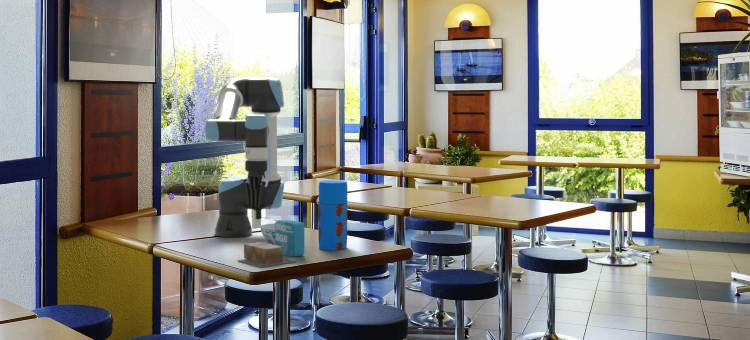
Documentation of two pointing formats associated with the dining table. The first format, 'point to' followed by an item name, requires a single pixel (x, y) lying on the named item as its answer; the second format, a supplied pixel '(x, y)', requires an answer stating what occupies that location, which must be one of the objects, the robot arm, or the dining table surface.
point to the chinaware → (269, 232)
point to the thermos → (332, 215)
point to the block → (263, 252)
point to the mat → (261, 265)
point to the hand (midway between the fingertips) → (256, 228)
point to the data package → (290, 237)
